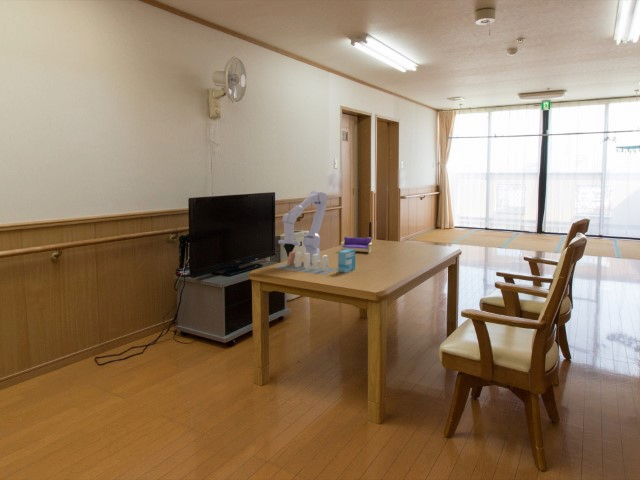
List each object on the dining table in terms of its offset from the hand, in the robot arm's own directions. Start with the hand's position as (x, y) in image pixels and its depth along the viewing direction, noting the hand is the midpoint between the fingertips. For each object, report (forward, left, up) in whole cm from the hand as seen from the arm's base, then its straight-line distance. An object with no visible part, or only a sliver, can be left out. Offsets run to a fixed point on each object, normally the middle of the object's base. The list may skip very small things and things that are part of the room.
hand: (289, 256), depth 272 cm
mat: (+2, +12, -6) cm, 14 cm away
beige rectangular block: (0, +6, -5) cm, 8 cm away
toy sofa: (-64, +12, -6) cm, 65 cm away
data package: (-6, +35, -6) cm, 36 cm away
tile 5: (0, +24, -5) cm, 25 cm away
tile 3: (0, +12, -5) cm, 14 cm away
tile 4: (0, +18, -5) cm, 19 cm away
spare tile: (0, 0, -5) cm, 5 cm away
